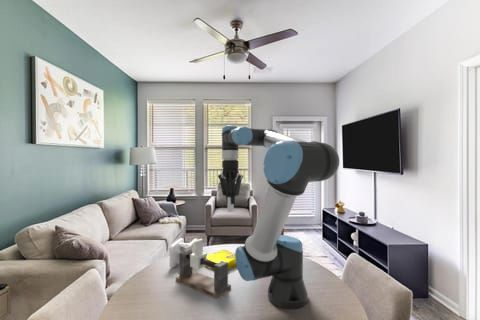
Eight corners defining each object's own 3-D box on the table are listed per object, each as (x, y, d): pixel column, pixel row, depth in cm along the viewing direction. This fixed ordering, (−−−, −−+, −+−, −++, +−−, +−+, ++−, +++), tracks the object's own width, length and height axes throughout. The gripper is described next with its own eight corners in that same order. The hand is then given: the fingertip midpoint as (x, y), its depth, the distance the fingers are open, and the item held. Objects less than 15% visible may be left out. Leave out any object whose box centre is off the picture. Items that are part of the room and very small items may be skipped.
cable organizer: (188, 271, 118) (188, 246, 118) (168, 269, 119) (168, 245, 119) (198, 258, 132) (198, 237, 133) (180, 257, 134) (180, 236, 134)
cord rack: (230, 288, 101) (230, 253, 101) (216, 298, 94) (216, 260, 94) (190, 273, 115) (190, 242, 115) (175, 280, 108) (175, 247, 108)
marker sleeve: (206, 265, 106) (206, 239, 106) (198, 269, 102) (198, 242, 102) (198, 262, 109) (198, 237, 109) (190, 266, 105) (190, 240, 105)
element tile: (223, 256, 136) (223, 248, 136) (242, 264, 126) (242, 254, 126) (201, 264, 125) (201, 255, 125) (221, 273, 115) (221, 263, 115)
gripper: (246, 159, 111) (247, 211, 111) (223, 160, 118) (224, 208, 118) (237, 159, 105) (237, 214, 105) (214, 159, 112) (214, 211, 112)
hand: (230, 211), depth 111 cm, fingers closed
